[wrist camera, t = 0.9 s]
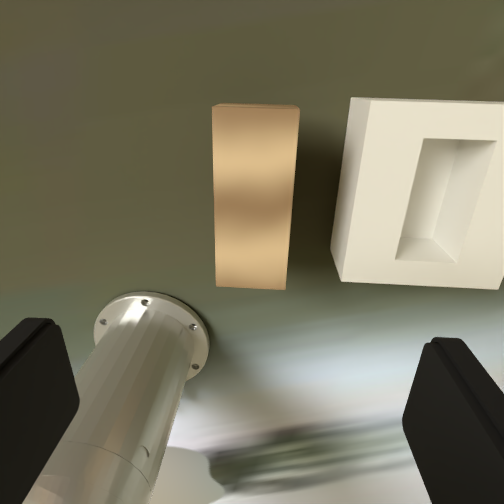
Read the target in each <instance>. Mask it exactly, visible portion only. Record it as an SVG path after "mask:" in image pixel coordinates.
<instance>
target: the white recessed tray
mask: <svg viewBox="0 0 504 504" xmlns="http://www.w3.org/2000/svg"><path fill="white" fill-rule="evenodd" d="M330 250H331V253H332V256H333V259H334V262H335V265H336V268H337V271H338V273H339V276H340V279H341V281H342V282H361V283H381V284H400V285H420V286H439V287H459V288H478V289H497V290H498V289H499V286H500V284H501V281H502V279H503V276H504V102H487V101H454V100H421V99H388V98H355V97H351V102H350V109H349V117H348V124H347V131H346V138H345V145H344V152H343V159H342V166H341V173H340V181H339V188H338V195H337V202H336V209H335V216H334V223H333V230H332V237H331V245H330Z"/></svg>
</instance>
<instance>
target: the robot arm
mask: <svg viewBox="0 0 504 504" xmlns="http://www.w3.org/2000/svg"><path fill="white" fill-rule="evenodd" d="M94 340H95V345H96V347H95V348H94V350H93V351H92V353H91V354H90V356H89V357H88V358H87V360H86V361H85V363H84V364H83V366H82V367H81V369H80V370H79V372H78V373H77V375H76V376H75V377H74V375H73V372H72V368H71V364H70V361H69V357H68V353H67V350H66V346H65V342H64V339H63V335H62V331H61V328H60V326H59V325H55V322H54V321H53V320H52V319H49V318H25V319H24V320H22V321H21V322H20V323H19V324H18V325H17V326H16V327H15V328H14V329H12V330H11V331H10V332H9V333H8V334H7V335H6V336H5V337H4V338H3V339H2V340H1V341H0V504H149V503H150V499H151V496H152V493H153V490H154V486H155V483H156V479H157V476H158V472H159V469H160V466H161V463H162V459H163V456H164V453H165V449H166V446H167V443H168V439H169V436H170V432H171V429H172V426H173V422H174V419H175V416H176V412H177V409H178V405H179V402H180V399H181V395H182V392H183V389H184V385H185V382H186V381H188V380H189V379H191V378H193V377H194V376H195V375H197V374H198V373H199V372H200V371H201V369H202V368H203V366H204V365H205V363H206V360H207V357H208V353H209V348H210V343H209V336H208V332H207V329H206V327H205V325H204V323H203V321H202V320H201V319H200V318H199V316H198V315H197V314H196V313H195V312H194V311H193V310H192V309H191V308H189V307H188V306H187V305H185V304H184V303H182V302H181V301H179V300H177V299H175V298H172V297H170V296H168V295H164V294H160V293H156V292H146V291H142V292H132V293H128V294H124V295H121V296H119V297H117V298H115V299H113V300H112V301H111V302H110V303H108V304H107V305H106V306H105V308H104V309H103V310H102V311H101V313H100V314H99V316H98V317H97V319H96V322H95V326H94ZM402 425H403V430H404V433H405V436H406V438H407V441H408V443H409V446H410V449H411V451H412V454H413V456H414V459H415V461H416V464H417V467H418V469H419V472H420V474H421V477H422V479H423V482H424V485H425V487H426V490H427V492H428V495H429V497H430V500H431V502H432V504H504V393H503V392H502V391H501V390H500V388H499V387H498V386H497V384H496V383H495V382H494V380H493V379H492V378H491V377H490V375H489V374H488V373H487V371H486V370H485V369H484V367H483V366H482V365H481V363H480V362H479V361H478V360H477V358H476V357H475V356H474V354H473V353H472V352H471V350H470V349H469V348H468V347H467V345H466V344H465V343H464V342H463V341H462V340H461V339H459V338H443V337H435V338H433V339H432V340H431V342H430V343H426V344H425V345H424V347H423V351H422V354H421V357H420V361H419V364H418V367H417V371H416V374H415V377H414V380H413V384H412V387H411V390H410V394H409V397H408V400H407V404H406V407H405V410H404V413H403V418H402Z"/></svg>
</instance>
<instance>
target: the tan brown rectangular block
mask: <svg viewBox="0 0 504 504" xmlns="http://www.w3.org/2000/svg"><path fill="white" fill-rule="evenodd" d="M299 115H300V109H299V108H298V107H297V106H296V105H272V104H240V103H221V104H218V105H215V106H212V131H213V173H214V216H215V258H216V286H221V287H240V288H259V289H278V290H285V287H286V274H287V262H288V250H289V238H290V225H291V213H292V201H293V189H294V176H295V164H296V152H297V139H298V127H299Z"/></svg>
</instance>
